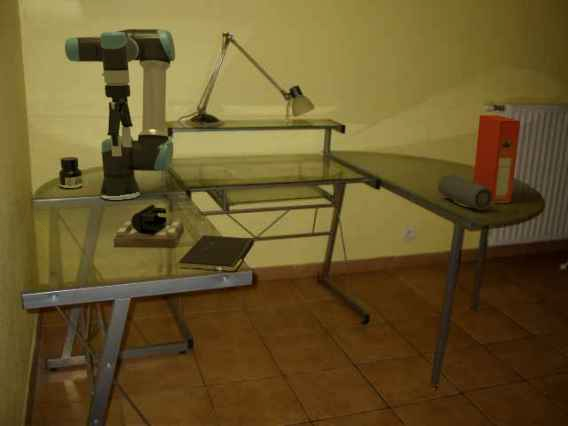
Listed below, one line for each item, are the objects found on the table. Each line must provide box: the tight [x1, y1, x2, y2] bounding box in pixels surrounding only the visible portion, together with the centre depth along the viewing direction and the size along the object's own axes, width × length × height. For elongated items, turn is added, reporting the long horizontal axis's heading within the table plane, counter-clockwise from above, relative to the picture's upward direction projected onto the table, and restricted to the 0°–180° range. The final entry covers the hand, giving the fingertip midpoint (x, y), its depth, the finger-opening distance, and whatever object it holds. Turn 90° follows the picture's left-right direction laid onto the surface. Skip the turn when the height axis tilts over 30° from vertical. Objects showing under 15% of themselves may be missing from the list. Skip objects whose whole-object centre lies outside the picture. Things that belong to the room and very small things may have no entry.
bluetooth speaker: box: [437, 174, 493, 211], centre depth 222 cm, size 23×9×10 cm, turn 20°
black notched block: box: [130, 204, 167, 235], centre depth 180 cm, size 10×7×7 cm
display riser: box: [113, 219, 185, 248], centre depth 181 cm, size 16×18×4 cm
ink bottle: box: [58, 156, 84, 186], centre depth 241 cm, size 10×9×12 cm
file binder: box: [473, 114, 521, 202], centre depth 228 cm, size 8×17×32 cm, turn 7°
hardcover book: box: [177, 234, 255, 269], centre depth 168 cm, size 16×23×2 cm
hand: (122, 151), depth 187 cm, fingers open, 13 cm apart
